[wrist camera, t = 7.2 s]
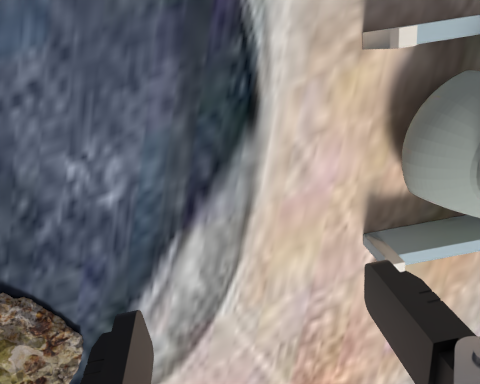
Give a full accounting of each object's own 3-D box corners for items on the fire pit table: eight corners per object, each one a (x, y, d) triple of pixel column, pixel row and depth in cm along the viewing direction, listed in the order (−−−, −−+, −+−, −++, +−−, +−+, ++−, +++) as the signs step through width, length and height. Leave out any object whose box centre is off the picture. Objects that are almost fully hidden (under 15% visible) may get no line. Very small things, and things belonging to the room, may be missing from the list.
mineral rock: (105, 383, 28) (5, 442, 26) (106, 349, 32) (19, 398, 30) (31, 282, 24) (-91, 342, 23) (42, 257, 28) (-61, 307, 27)
